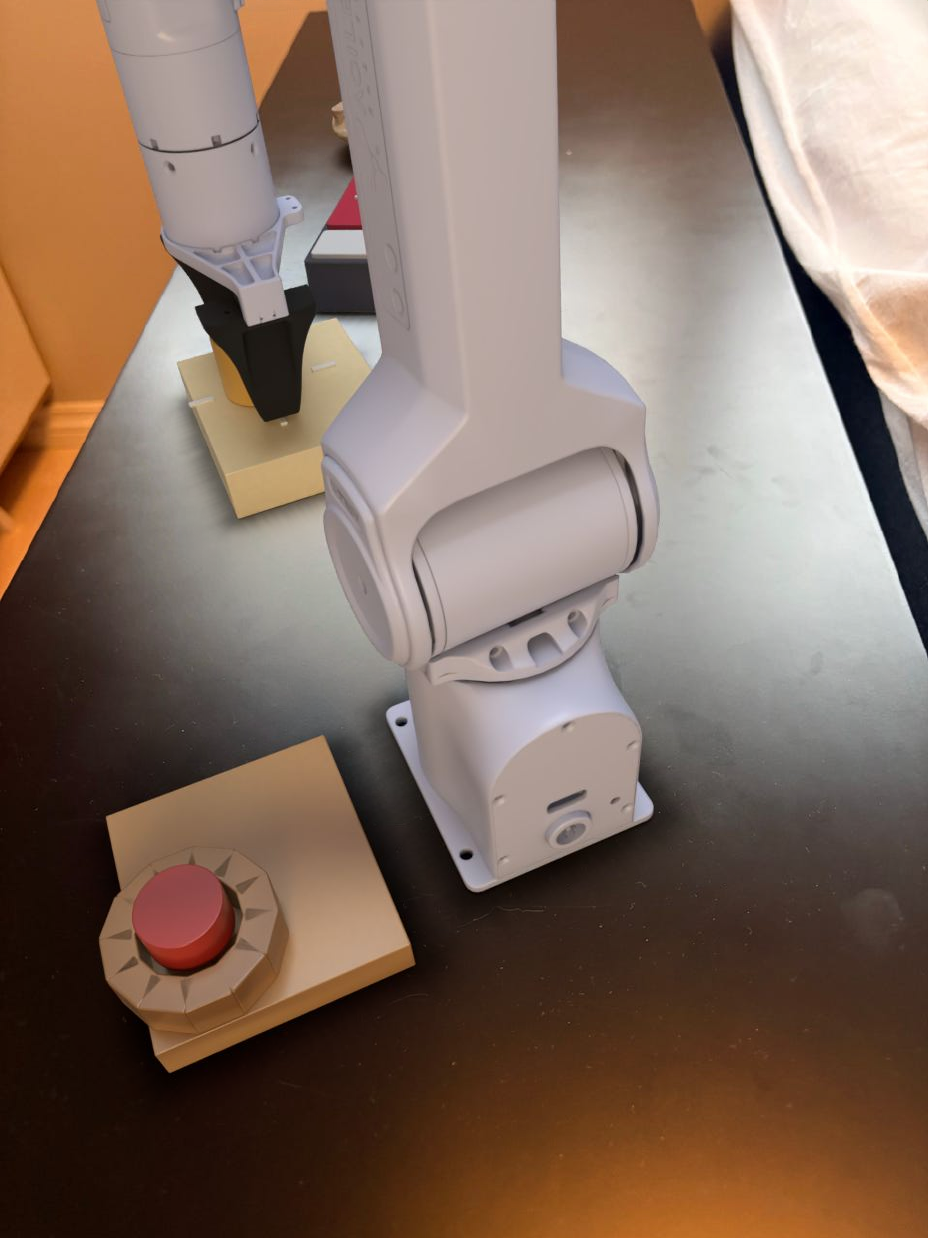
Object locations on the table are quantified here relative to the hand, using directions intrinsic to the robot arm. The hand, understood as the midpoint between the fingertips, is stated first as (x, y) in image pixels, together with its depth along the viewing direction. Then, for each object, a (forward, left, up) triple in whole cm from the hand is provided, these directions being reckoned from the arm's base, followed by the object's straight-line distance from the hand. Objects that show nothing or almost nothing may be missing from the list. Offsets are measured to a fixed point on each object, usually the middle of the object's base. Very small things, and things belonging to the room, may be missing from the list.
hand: (262, 378), depth 56 cm
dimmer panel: (-1, -1, -3) cm, 4 cm away
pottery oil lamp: (+33, -21, -4) cm, 40 cm away
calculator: (+15, -14, -4) cm, 21 cm away
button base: (-29, +9, -3) cm, 30 cm away
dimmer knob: (0, 0, 0) cm, 0 cm away
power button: (-31, +11, 0) cm, 33 cm away
